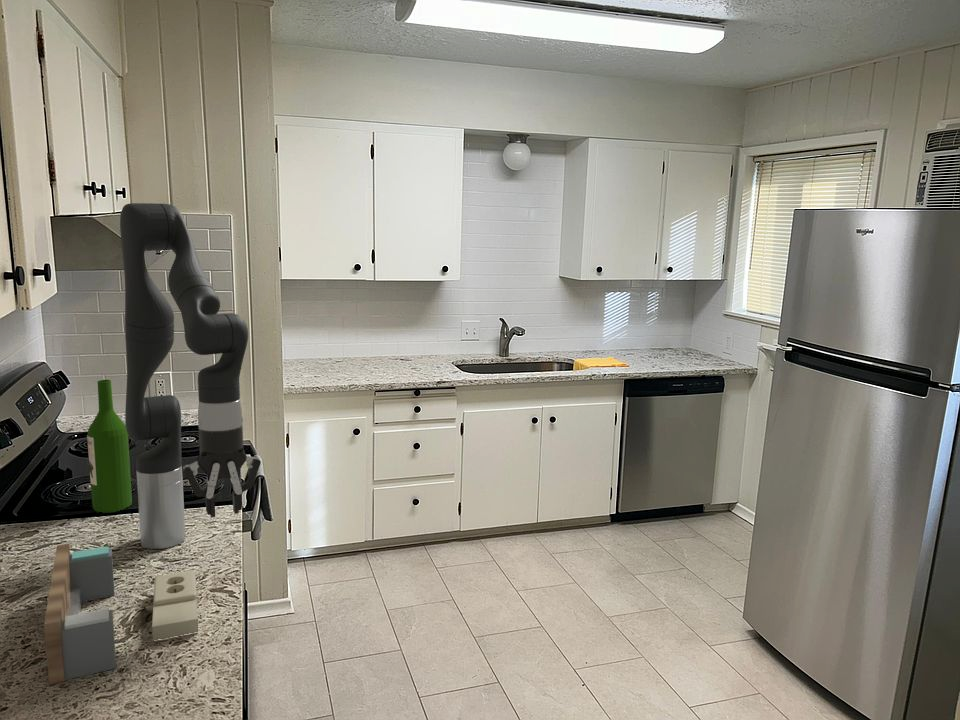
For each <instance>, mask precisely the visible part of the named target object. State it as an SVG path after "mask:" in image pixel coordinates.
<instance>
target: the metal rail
mask: <svg viewBox="0 0 960 720" xmlns="http://www.w3.org/2000/svg"><path fill="white" fill-rule="evenodd" d="M80 612H82V602H81V591H80V584H79V585H73V586H71V588H70V598H69V607H68V616H71V615H76V614H80Z"/></svg>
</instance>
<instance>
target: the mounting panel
mask: <svg viewBox="0 0 960 720" xmlns="http://www.w3.org/2000/svg"><path fill="white" fill-rule="evenodd" d="M70 554H71V547H70V543H64V544H57V545H56V550H55V556H54V561H53V567H52V575H51V581H50V586H49V593H48V599H47V603H46V604H47V605H46V611H45V617H44V623H43V628H44V629H43V630H44V639H45V649H46V662H47V671H48V673H47V674H48V685H49V686H52V685H56V684H60V683H61V684H62V683H66V682H65V681H66V680H65V677H64V665H63V652H62V640H61V626H62V619H65V617H66V616H68V607H69V598H70V588H71V583H70V570H69V558H70Z"/></svg>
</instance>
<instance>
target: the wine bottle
mask: <svg viewBox="0 0 960 720" xmlns="http://www.w3.org/2000/svg"><path fill="white" fill-rule="evenodd" d="M97 396H98V397H97V398H98V399H97V400H98V411H97V414H96V416H95V418H94V419H93V420H92V422H91V424H90V426H89V427H88V429H87V435H86V438H87V450H88V451H87V452H88V453H87V454H88V464H89V465H88V466H89V477H90V491H91V492H90V493H91V506H92V510H93V509H94V510H95V511H98V512H97V513H99V512H102V513H101V514H111V513H116V512H117V511H118V512H120V510H122V511H124V510H123V509H125V508H127V507H129V506H130V505H131V506H132V504H133V495H132V493H133V491H132V480H131V477H132V476H131V465H130V464H131V461H130V446H129V436H128V433H127V430H126V423H124V422H123V420H122V419H121V418H120V417H119V415H118V414H117V412H115V409H114V402H113V401H114V400H113V391H112V380H111V379H100V380H97ZM131 506H130V507H131ZM130 507H129V508H130ZM127 509H128V508H127ZM94 510H93V511H94ZM125 510H126V509H125ZM95 511H94V512H95Z"/></svg>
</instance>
